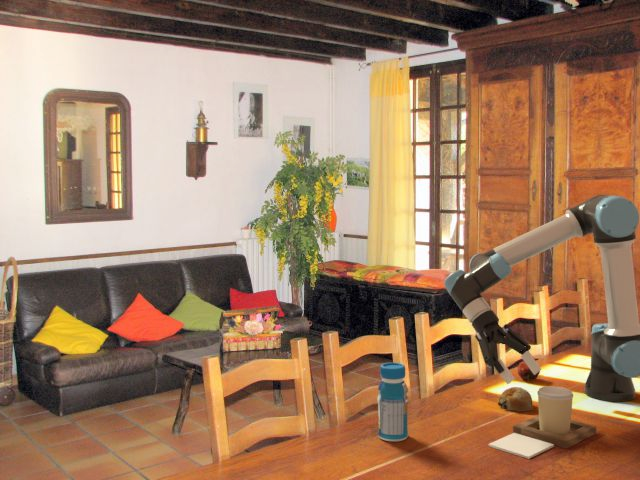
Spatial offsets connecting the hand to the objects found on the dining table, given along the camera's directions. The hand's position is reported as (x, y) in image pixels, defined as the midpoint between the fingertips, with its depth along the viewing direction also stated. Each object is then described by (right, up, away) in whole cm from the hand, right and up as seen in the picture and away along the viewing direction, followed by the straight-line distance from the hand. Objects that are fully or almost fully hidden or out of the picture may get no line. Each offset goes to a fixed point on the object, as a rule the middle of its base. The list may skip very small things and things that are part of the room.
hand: (524, 376), depth 208 cm
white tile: (-5, -16, -14) cm, 22 cm away
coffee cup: (+7, -15, -5) cm, 17 cm away
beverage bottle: (-38, -15, -7) cm, 41 cm away
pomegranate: (+14, -10, +46) cm, 49 cm away
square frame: (+7, -15, -5) cm, 17 cm away
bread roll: (+2, -13, +18) cm, 22 cm away
